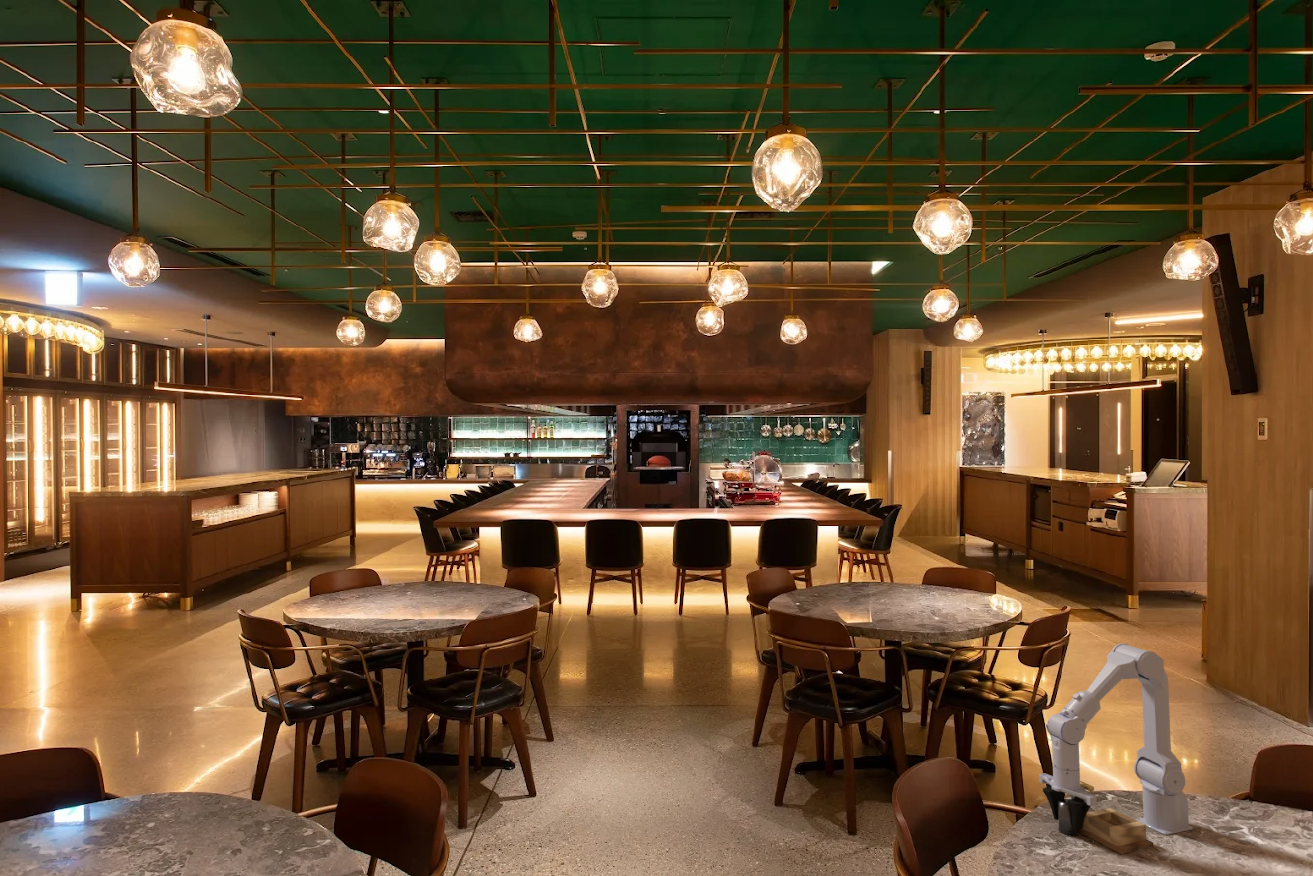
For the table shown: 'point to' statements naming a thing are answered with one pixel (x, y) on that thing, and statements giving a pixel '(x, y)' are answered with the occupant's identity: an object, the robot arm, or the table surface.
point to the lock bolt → (1087, 786)
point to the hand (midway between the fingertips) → (1067, 824)
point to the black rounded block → (1065, 818)
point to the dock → (1115, 830)
